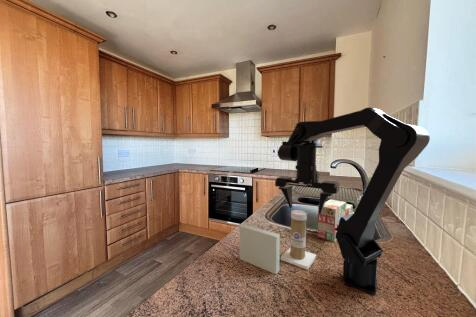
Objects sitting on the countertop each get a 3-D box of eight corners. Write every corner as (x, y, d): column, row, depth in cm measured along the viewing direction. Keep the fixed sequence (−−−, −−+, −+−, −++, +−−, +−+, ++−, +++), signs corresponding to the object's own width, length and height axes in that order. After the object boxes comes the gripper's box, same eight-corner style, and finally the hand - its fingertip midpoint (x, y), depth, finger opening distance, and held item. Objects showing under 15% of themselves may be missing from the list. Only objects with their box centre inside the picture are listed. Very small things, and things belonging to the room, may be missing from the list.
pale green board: (279, 270, 53) (279, 234, 53) (276, 274, 51) (276, 237, 51) (243, 255, 60) (243, 224, 60) (239, 258, 59) (239, 226, 58)
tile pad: (316, 257, 60) (316, 254, 60) (307, 269, 53) (307, 267, 53) (291, 248, 65) (291, 246, 65) (280, 259, 58) (280, 257, 58)
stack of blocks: (337, 222, 89) (338, 195, 88) (352, 226, 84) (353, 197, 84) (317, 237, 74) (317, 204, 73) (334, 242, 69) (335, 208, 69)
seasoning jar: (289, 258, 57) (290, 213, 57) (289, 250, 62) (291, 208, 61) (306, 261, 56) (307, 214, 56) (305, 252, 61) (306, 210, 60)
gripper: (342, 162, 63) (340, 209, 64) (287, 159, 74) (286, 200, 75) (337, 164, 54) (335, 219, 55) (274, 161, 65) (273, 207, 66)
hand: (304, 210), depth 63 cm, fingers open, 9 cm apart
